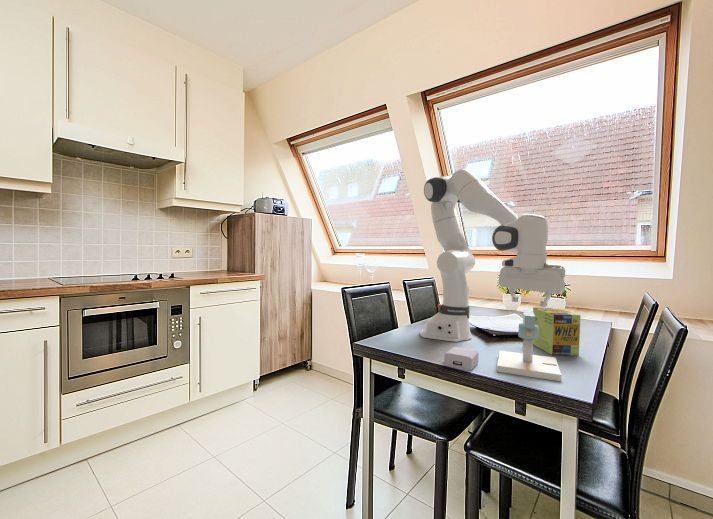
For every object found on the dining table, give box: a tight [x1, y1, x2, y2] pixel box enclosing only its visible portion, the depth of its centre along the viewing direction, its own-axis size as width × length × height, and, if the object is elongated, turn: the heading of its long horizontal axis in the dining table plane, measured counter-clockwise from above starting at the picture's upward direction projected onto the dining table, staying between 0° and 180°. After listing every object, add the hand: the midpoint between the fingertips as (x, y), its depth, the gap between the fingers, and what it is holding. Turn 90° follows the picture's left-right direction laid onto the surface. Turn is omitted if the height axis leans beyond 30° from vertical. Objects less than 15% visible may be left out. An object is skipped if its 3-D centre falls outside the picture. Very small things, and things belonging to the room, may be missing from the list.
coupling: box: [518, 310, 539, 339], centre depth 116 cm, size 10×6×8 cm, turn 157°
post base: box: [496, 338, 562, 382], centre depth 116 cm, size 18×18×10 cm
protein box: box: [532, 307, 581, 356], centre depth 137 cm, size 10×15×16 cm
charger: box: [443, 346, 479, 371], centre depth 121 cm, size 5×9×15 cm
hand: (528, 303), depth 116 cm, fingers open, 8 cm apart
